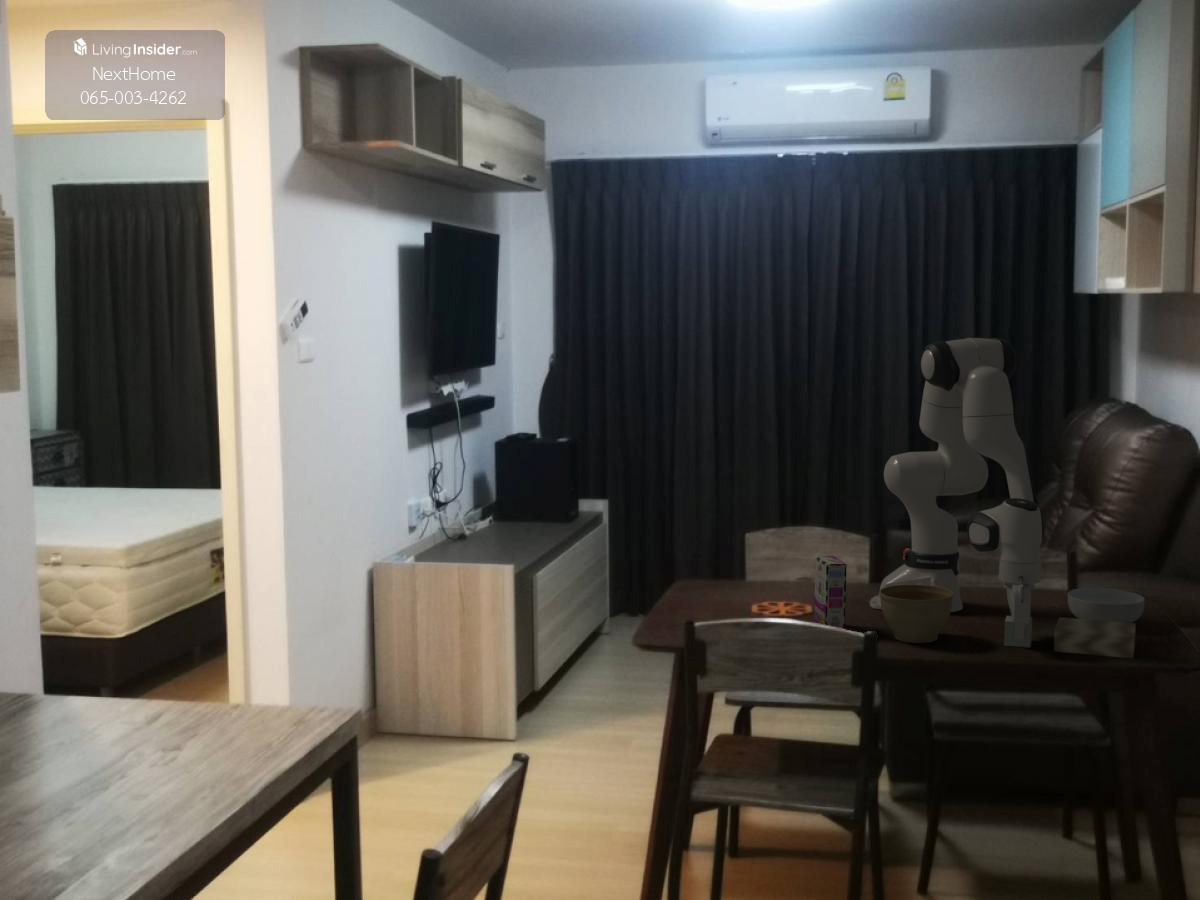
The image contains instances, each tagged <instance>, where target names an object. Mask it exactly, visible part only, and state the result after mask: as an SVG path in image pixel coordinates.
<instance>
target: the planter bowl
mask: <svg viewBox="0 0 1200 900" xmlns="http://www.w3.org/2000/svg"><path fill="white" fill-rule="evenodd" d="M879 591H880V597H881V607H882V609H881V612H882V615H883V617H884V620H885V621H886V623H887V625H888V627H889V628H890V630H892V633H893V636H894V638H895V639H896V640H898V641H899V642H904V643H909V644H927V643H934V642H935V641H937V640H938V638H939V634H940V632H942V630H943V629H944V628H945V626H946V624H947V622H948V620H949V617H950V615H951V613H952V612H951V607H952V599H953V592H952V591H951V590H948V589H946V588H942V587H937V586H930V585H894V586H888V587H884V588H882V589H881V590H880V589H879Z"/></svg>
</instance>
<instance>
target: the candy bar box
mask: <svg viewBox="0 0 1200 900" xmlns="http://www.w3.org/2000/svg"><path fill="white" fill-rule="evenodd" d="M814 563H815V564H814V565H815V567H814V608H813V609H814V612H813V613H814V614H813V615H814V617H813V618H814V620H813V623H814V622H817V623H821V624H826V625H831V626H836V627H841V628H845V629H846V605H847V603H846V599H847V598H846V596H847V565H848V564H846V563H845V562H844V561H842V560H840V559H839V558H838V557H837V556H834V555H816V556H815V562H814Z"/></svg>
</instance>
